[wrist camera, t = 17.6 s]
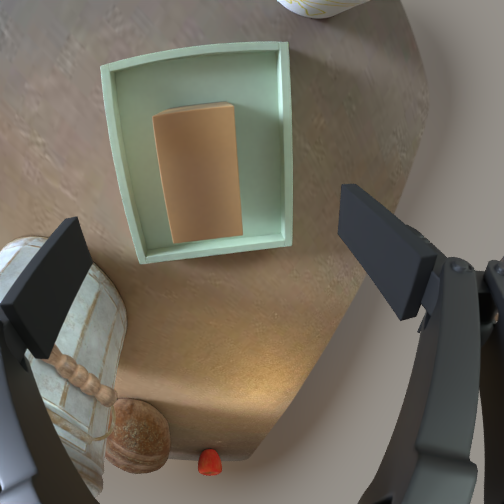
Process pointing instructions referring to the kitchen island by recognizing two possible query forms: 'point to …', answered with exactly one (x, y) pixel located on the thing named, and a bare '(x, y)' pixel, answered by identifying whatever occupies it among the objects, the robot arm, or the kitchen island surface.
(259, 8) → the kitchen island surface
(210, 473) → the apple
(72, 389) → the white milk churn
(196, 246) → the tray
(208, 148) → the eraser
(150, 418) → the bread
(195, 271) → the kitchen island surface
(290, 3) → the white cylinder
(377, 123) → the kitchen island surface
